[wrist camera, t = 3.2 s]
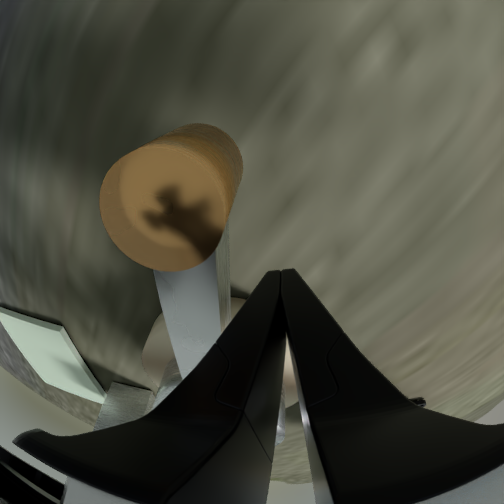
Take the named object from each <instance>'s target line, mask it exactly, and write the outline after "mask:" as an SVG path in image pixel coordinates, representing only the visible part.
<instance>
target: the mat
mask: <svg viewBox="0 0 504 504" xmlns="http://www.w3.org/2000/svg"><path fill="white" fill-rule="evenodd" d="M0 321H1V323H2V324H3V326H4V328H5V329H6V331H7V332H8V334H9V335H10V337H11V338H12V340H13V341H14V343H15V344H16V345H17V347H18V348H19V350H20V351H21V352H22V354H23V355H24V357H25V358H26V359H27V361H28V362H29V363H30V364H31V366H32V367H33V368H34V370H35V371H36V372H37V373H38V374H39V376H40V377H41V378H42V379H43V381H44V382H45V383H48V384H50V385H52V386H55V387H57V388H60V389H62V390H65V391H67V392H70V393H72V394H75V395H78V396H81V397H83V398H86V399H89V400H92V401H95V402H98V403H101V404H103V403H104V401H105V398H106V396H107V394H106V393H105V391H104V390H103V389H102V387H101V386H100V384H99V383H98V382H97V380H96V379H95V377H94V376H93V374H92V373H91V371H90V370H89V368H88V367H87V365H86V364H85V362H84V361H83V359H82V358H81V356H80V354H79V353H78V351H77V350H76V348H75V346H74V345H73V343H72V341H71V340H70V338H69V336H68V334H67V333H66V331H65V329H64V327H63V326H59V325H55V324H52V323H48V322H45V321H42V320H38V319H35V318H32V317H29V316H25V315H22V314H19V313H16V312H13V311H10V310H7V309H5V308H2V307H0Z"/></svg>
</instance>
